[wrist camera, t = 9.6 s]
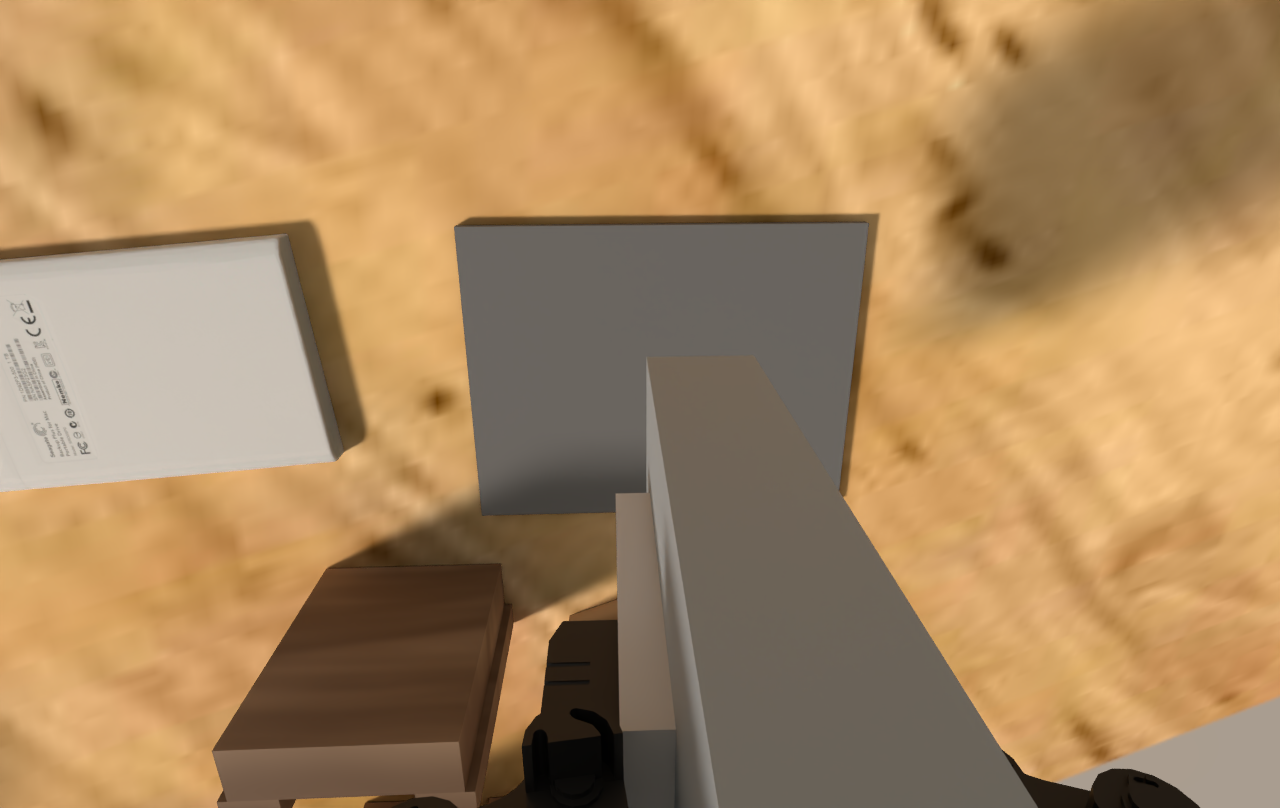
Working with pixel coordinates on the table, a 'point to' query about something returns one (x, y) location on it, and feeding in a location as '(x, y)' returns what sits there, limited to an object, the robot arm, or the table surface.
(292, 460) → the external hard drive
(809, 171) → the table surface
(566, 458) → the mat
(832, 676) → the grey upright panel
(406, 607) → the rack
